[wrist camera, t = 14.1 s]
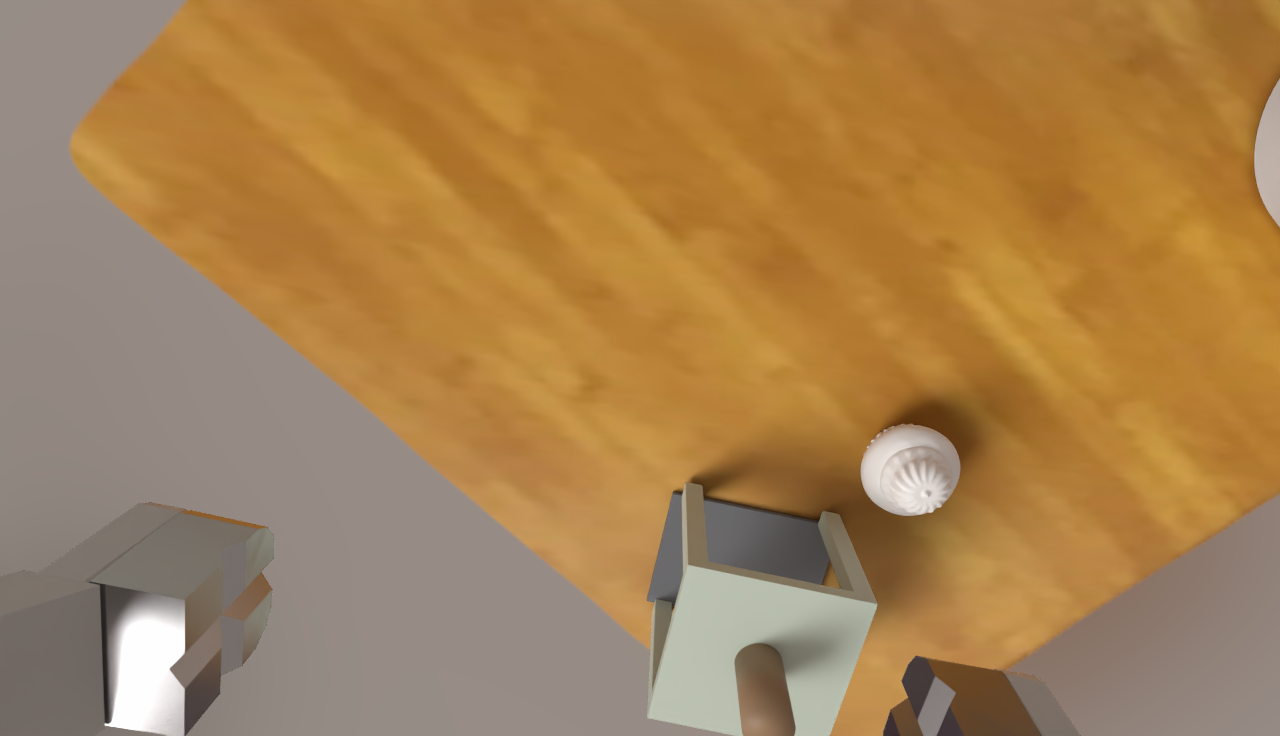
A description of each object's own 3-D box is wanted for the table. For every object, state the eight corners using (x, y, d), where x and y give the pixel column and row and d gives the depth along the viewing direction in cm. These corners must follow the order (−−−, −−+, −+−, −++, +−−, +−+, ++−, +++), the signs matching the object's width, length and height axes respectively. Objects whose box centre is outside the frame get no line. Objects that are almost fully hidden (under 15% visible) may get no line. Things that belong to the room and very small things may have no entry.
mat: (838, 525, 52) (840, 528, 52) (804, 629, 55) (805, 632, 55) (673, 491, 52) (673, 493, 52) (647, 597, 55) (647, 600, 54)
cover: (839, 514, 52) (903, 665, 37) (796, 642, 55) (840, 827, 40) (685, 481, 51) (689, 621, 37) (652, 612, 55) (644, 787, 40)
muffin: (841, 417, 50) (867, 461, 43) (933, 396, 49) (974, 438, 42) (857, 497, 52) (884, 551, 45) (946, 478, 51) (987, 531, 44)
